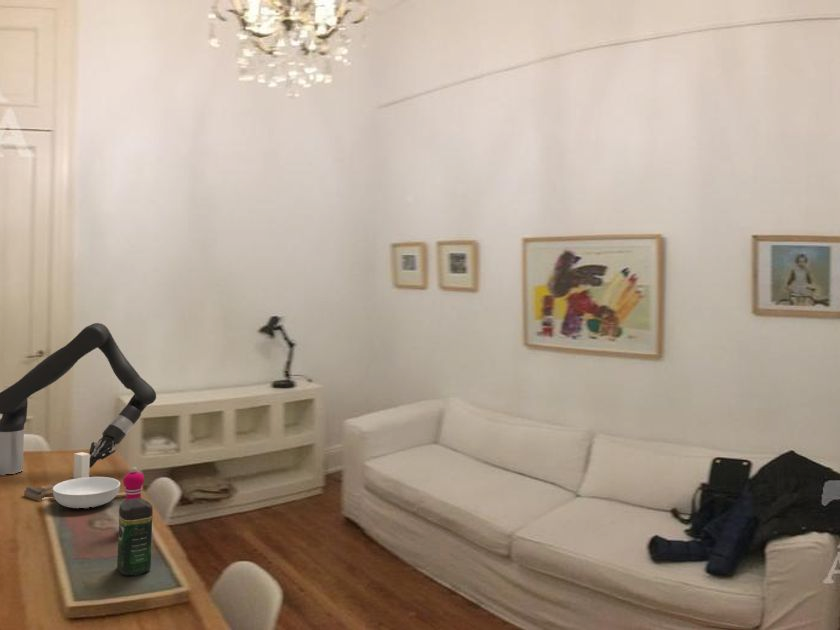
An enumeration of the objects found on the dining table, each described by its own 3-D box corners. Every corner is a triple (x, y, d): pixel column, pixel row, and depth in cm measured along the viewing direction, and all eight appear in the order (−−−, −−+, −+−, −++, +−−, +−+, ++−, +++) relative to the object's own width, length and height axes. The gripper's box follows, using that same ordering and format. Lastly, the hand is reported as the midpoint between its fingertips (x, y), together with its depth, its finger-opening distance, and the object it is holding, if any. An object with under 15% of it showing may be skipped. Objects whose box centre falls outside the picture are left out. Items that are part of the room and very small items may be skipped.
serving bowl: (50, 517, 207) (50, 496, 207) (53, 498, 225) (54, 479, 225) (120, 510, 216) (121, 490, 216) (118, 492, 235) (119, 474, 235)
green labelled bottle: (154, 572, 170) (156, 503, 169) (122, 579, 165) (124, 508, 164) (145, 559, 177) (147, 493, 177) (114, 566, 173) (116, 498, 172)
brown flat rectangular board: (83, 482, 246) (83, 473, 246) (99, 486, 241) (99, 478, 240) (24, 496, 227) (24, 487, 227) (39, 501, 222) (39, 492, 222)
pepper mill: (135, 536, 194) (137, 471, 194) (114, 533, 195) (116, 469, 195) (149, 528, 201) (151, 465, 201) (129, 525, 203) (131, 463, 202)
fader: (82, 477, 243) (82, 451, 243) (91, 480, 240) (92, 454, 240) (70, 480, 239) (71, 453, 239) (80, 483, 236) (81, 456, 236)
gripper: (101, 421, 253) (70, 458, 243) (122, 426, 246) (91, 463, 236) (113, 432, 258) (83, 468, 247) (134, 437, 251) (104, 474, 241)
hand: (87, 466), depth 242 cm, fingers closed
